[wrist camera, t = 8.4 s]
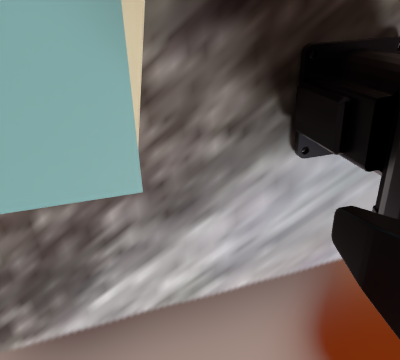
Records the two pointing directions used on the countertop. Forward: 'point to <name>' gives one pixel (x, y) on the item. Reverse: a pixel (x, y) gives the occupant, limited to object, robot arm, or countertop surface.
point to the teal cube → (65, 104)
